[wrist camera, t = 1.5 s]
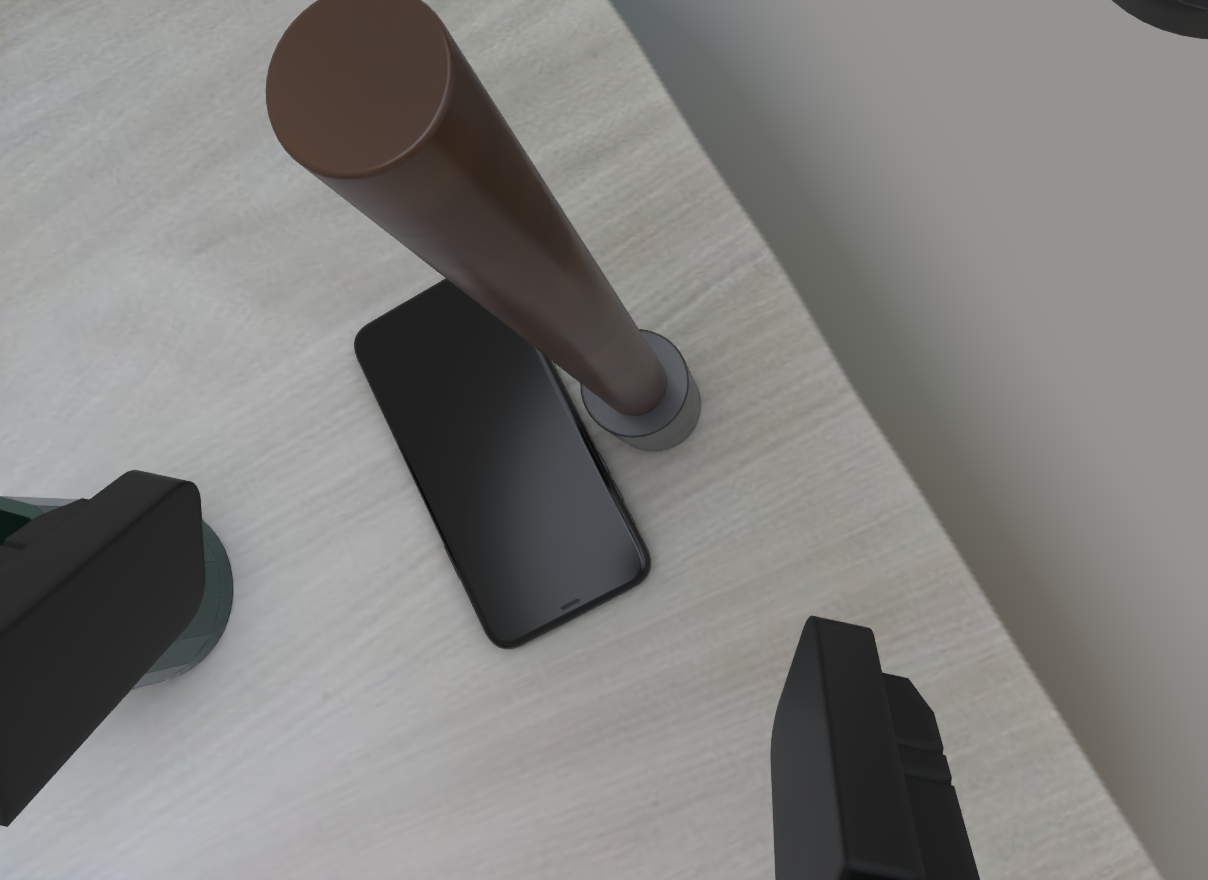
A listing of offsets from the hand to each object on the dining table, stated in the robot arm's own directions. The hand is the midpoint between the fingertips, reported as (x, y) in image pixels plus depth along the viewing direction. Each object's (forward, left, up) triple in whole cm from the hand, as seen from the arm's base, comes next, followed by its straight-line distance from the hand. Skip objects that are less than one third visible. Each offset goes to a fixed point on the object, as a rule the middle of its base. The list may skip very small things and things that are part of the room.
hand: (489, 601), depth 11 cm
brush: (-4, -4, -26) cm, 27 cm away
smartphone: (+1, -9, -26) cm, 28 cm away
